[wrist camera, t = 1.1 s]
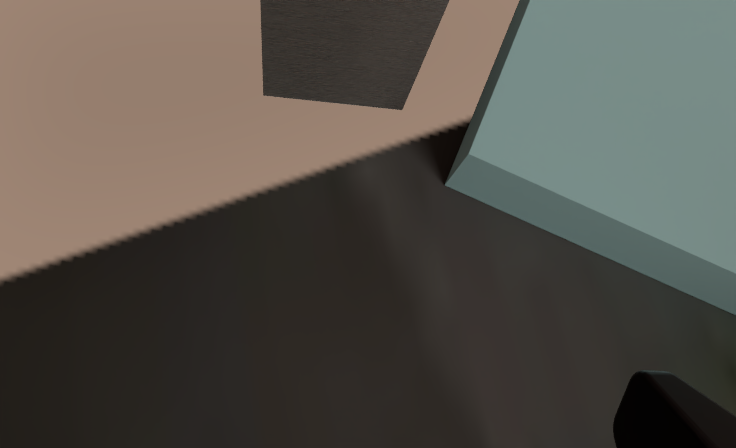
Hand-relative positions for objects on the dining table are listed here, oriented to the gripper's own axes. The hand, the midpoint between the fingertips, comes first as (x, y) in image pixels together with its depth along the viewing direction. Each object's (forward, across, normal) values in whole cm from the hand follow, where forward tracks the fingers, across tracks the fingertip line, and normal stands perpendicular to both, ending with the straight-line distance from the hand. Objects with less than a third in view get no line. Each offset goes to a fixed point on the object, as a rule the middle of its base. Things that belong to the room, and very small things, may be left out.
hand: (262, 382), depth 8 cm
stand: (+17, -13, +2) cm, 22 cm away
